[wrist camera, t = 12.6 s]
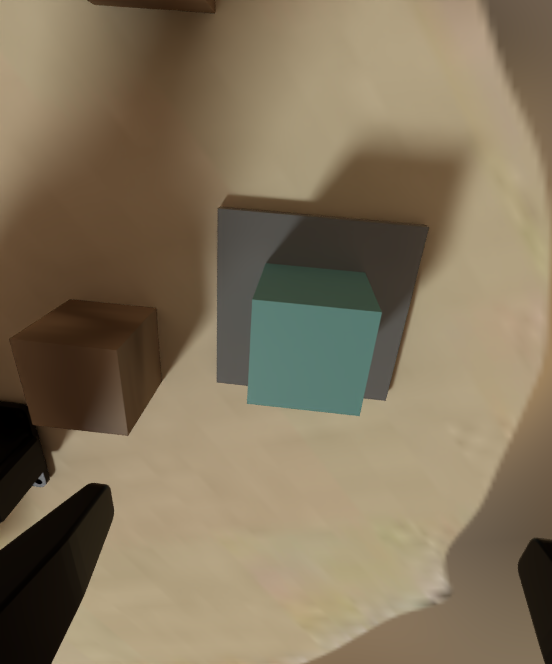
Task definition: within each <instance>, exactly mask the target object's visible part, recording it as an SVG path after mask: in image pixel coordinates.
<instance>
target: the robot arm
mask: <svg viewBox="0 0 552 664" xmlns="http://www.w3.org/2000/svg"><path fill="white" fill-rule="evenodd" d="M49 480H50V477H49V474H48V470H47V466H46V462H45V459H44V455H43V451H42V447H41V444H40V440H39V436H38V432H37V429H36V425H33V424H32V420H31V417H30V413H29V409H28V406H26V405H24V404H18V403H10V402H1V401H0V523H2V522H3V521H4V520H5V519H6V517H7V516H8V515H9V514H10V512H11V511H12V510H13V509H14V508H15V506H16V505H17V504H18V503H19V501H20V500H21V499H22V498H23V496H24V495H25V494H26V493H27V492H28V490H29V489H30V488H31V487H32V486H36V487H44V486H45V485H46V484H47V483H48V481H49ZM113 516H114V506H113V501H112V495H111V489H110V487H109V486H108V485H106V484H99V483H90V484H88V485H86V486H85V487H83V488H82V489H81V490H79V491H78V492H77V493H75V494H74V495H73V496H71V497H70V498H69V499H67V500H66V501H65V502H63V503H62V504H61V505H59V506H58V507H57V508H55V509H54V510H53V511H51V512H50V513H49V514H47V515H46V516H45V517H43V518H42V519H41V520H39V521H38V522H37V523H35V524H34V525H33V526H31V527H30V528H29V529H27V530H26V531H25V532H24V533H22V534H21V535H20V536H18V537H17V538H16V539H14V540H13V541H12V542H10V543H9V544H8V545H6V546H5V547H4V548H2V549H1V550H0V664H51V663H52V661H53V659H54V657H55V655H56V653H57V651H58V649H59V647H60V645H61V643H62V641H63V639H64V636H65V634H66V632H67V630H68V628H69V626H70V624H71V622H72V620H73V618H74V616H75V614H76V612H77V610H78V608H79V605H80V603H81V601H82V599H83V597H84V594H85V592H86V589H87V587H88V584H89V582H90V579H91V576H92V574H93V571H94V568H95V566H96V563H97V560H98V558H99V555H100V552H101V550H102V547H103V544H104V542H105V539H106V537H107V534H108V531H109V529H110V526H111V523H112V520H113ZM518 573H519V577H520V580H521V584H522V587H523V591H524V594H525V598H526V601H527V605H528V608H529V611H530V615H531V619H532V622H533V625H534V629H535V633H536V636H537V639H538V643H539V646H540V649H541V652H542V655H543V659H544V662H545V664H552V540H550V539H544V538H533V539H531V540H530V542H529V543H528V545H527V547H526V549H525V551H524V552H523V554H522V556H521V557H520V559H519V562H518Z"/></svg>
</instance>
